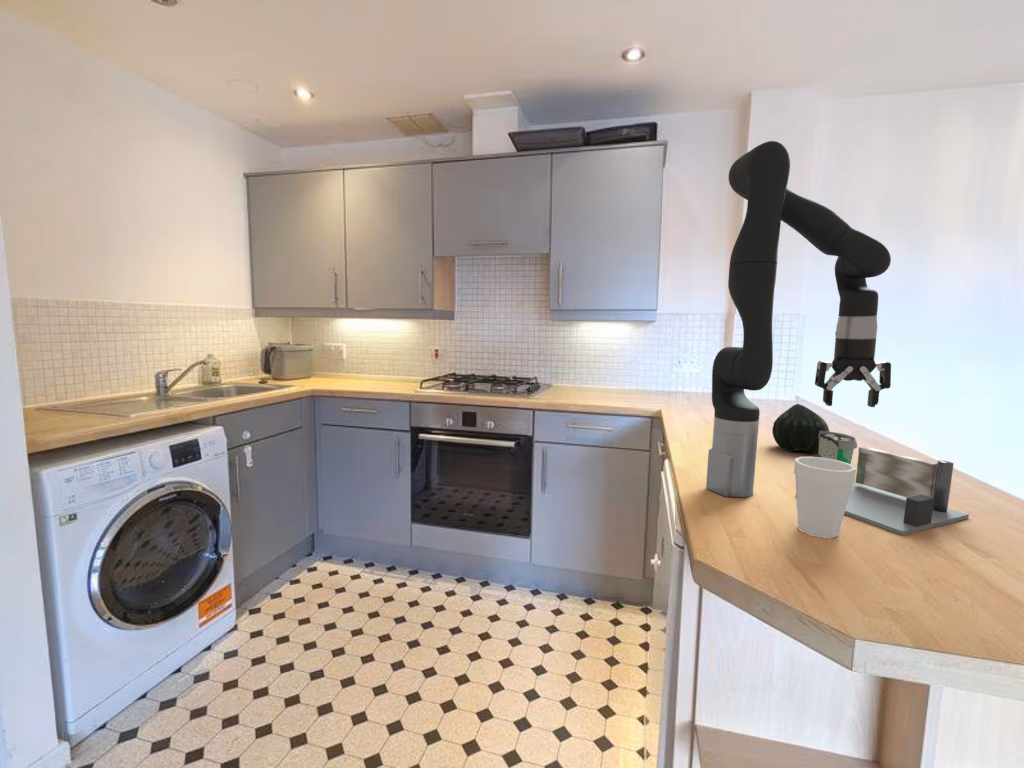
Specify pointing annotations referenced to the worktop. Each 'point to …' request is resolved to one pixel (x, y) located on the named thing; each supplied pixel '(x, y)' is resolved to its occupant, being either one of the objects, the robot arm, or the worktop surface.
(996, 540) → the worktop surface
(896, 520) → the plaque display stand
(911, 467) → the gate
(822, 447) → the food container
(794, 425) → the squash
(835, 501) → the foam cup
